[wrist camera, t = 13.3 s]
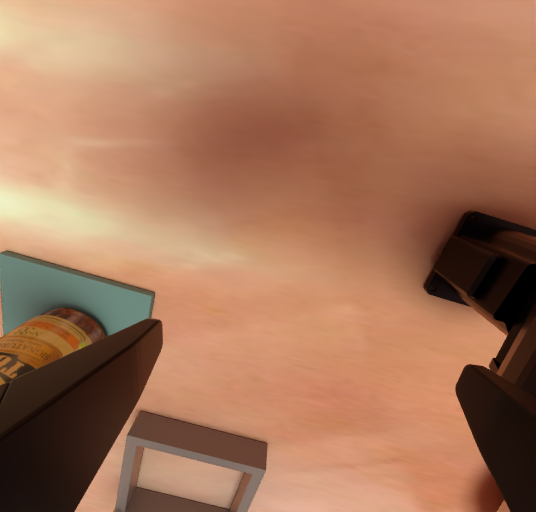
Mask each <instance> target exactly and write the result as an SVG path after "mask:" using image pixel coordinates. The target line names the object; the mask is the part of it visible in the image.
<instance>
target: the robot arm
mask: <svg viewBox="0 0 536 512" xmlns="http://www.w3.org/2000/svg"><path fill="white" fill-rule="evenodd" d="M472 216H474V219H473V220H472V221H470V218H471V217H472ZM432 286H434V288H433V289H431V290H430V288H431V287H432ZM424 289H425V291H426V292H427V293H428V294H430V295H433V296H436V297H440V298H443V299H446V300H450V301H453V302H456V303H460V304H463V305H466V306H470V307H472V308H473V309H474V310H476V311H477V312H478V313H479V314H481V315H482V316H483V317H484V318H486V319H487V320H488V321H489V322H491V323H492V324H493V325H494V326H495V327H497V328H498V329H499V330H500V331H502V332H503V333H504V334H505V335H507V338H506V340H505V341H504V343H503V345H502V347H501V349H500V351H499V353H498V354H497V356H496V358H493V359H492V361H491V362H490V364H489V368H490V370H489V369H487V368H486V367H483V366H479V365H472V364H469V365H466V366H465V367H464V369H463V371H462V373H461V375H460V377H459V380H458V382H457V384H456V395H457V397H458V400H459V402H460V405H461V407H462V410H463V412H464V415H465V417H466V420H467V422H468V424H469V427H470V429H471V432H472V434H473V437H474V439H475V442H476V444H477V446H478V448H479V451H480V453H481V455H482V457H483V459H484V461H485V463H486V465H487V467H488V469H489V471H490V473H491V475H492V477H493V479H494V481H495V483H496V485H497V487H498V489H499V491H500V492H501V494H502V496H503V498H504V500H505V502H506V504H507V506H508V508H509V510H510V512H536V230H533V229H530V228H527V227H524V226H521V225H518V224H514V223H511V222H508V221H505V220H502V219H499V218H496V217H492V216H489V215H486V214H483V213H480V212H477V211H468V212H467V213H465V214H464V216H463V217H462V219H461V221H460V223H459V225H458V226H457V228H456V230H455V232H454V234H453V235H452V237H451V238H450V239H449V241H448V242H447V244H446V246H445V248H444V250H443V251H442V253H441V255H440V257H439V259H438V260H437V262H436V264H435V266H434V269H433V271H432V273H431V275H430V276H429V278H428V280H427V282H426V284H425V286H424ZM162 344H163V333H162V321H161V320H158V319H151V318H147V319H144V320H142V321H140V322H138V323H136V324H133V325H131V326H129V327H127V328H125V329H122V330H120V331H118V332H116V333H114V334H111V335H109V336H107V337H105V338H103V339H101V340H98V341H96V342H94V343H92V344H90V345H87V346H85V347H83V348H81V349H79V350H76V351H74V352H72V353H70V354H68V355H65V356H63V357H61V358H59V359H57V360H55V361H52V362H50V363H48V364H46V365H44V366H41V367H39V368H37V369H35V370H33V371H30V372H28V373H26V374H24V375H22V376H19V377H17V378H15V379H13V380H12V381H11V382H6V383H4V384H2V385H0V512H74V511H75V510H76V508H77V506H78V504H79V503H80V501H81V499H82V498H83V496H84V494H85V492H86V491H87V489H88V487H89V485H90V484H91V482H92V480H93V478H94V477H95V475H96V473H97V472H98V470H99V468H100V466H101V465H102V463H103V461H104V459H105V458H106V456H107V454H108V453H109V451H110V449H111V447H112V446H113V444H114V442H115V440H116V439H117V437H118V435H119V433H120V432H121V430H122V428H123V427H124V425H125V423H126V421H127V420H128V418H129V416H130V414H131V413H132V411H133V409H134V408H135V406H136V404H137V402H138V400H139V398H140V396H141V394H142V392H143V390H144V388H145V385H146V383H147V381H148V379H149V376H150V374H151V372H152V370H153V367H154V365H155V363H156V361H157V358H158V356H159V354H160V352H161V349H162Z"/></svg>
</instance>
